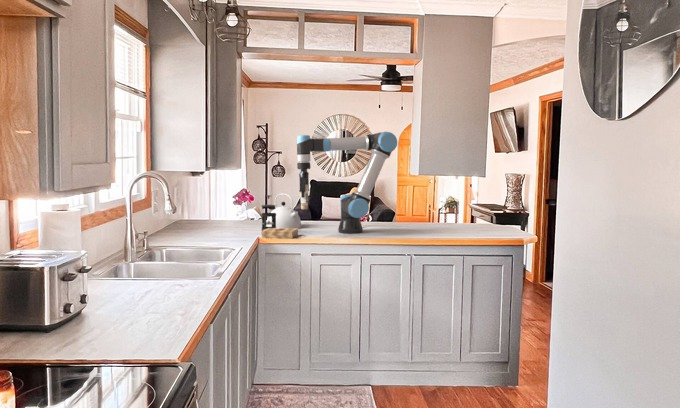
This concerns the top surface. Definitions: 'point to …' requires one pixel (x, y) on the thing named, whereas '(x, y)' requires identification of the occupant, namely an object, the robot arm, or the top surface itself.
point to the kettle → (285, 216)
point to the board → (280, 233)
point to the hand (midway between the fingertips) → (304, 202)
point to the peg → (305, 205)
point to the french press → (268, 216)
